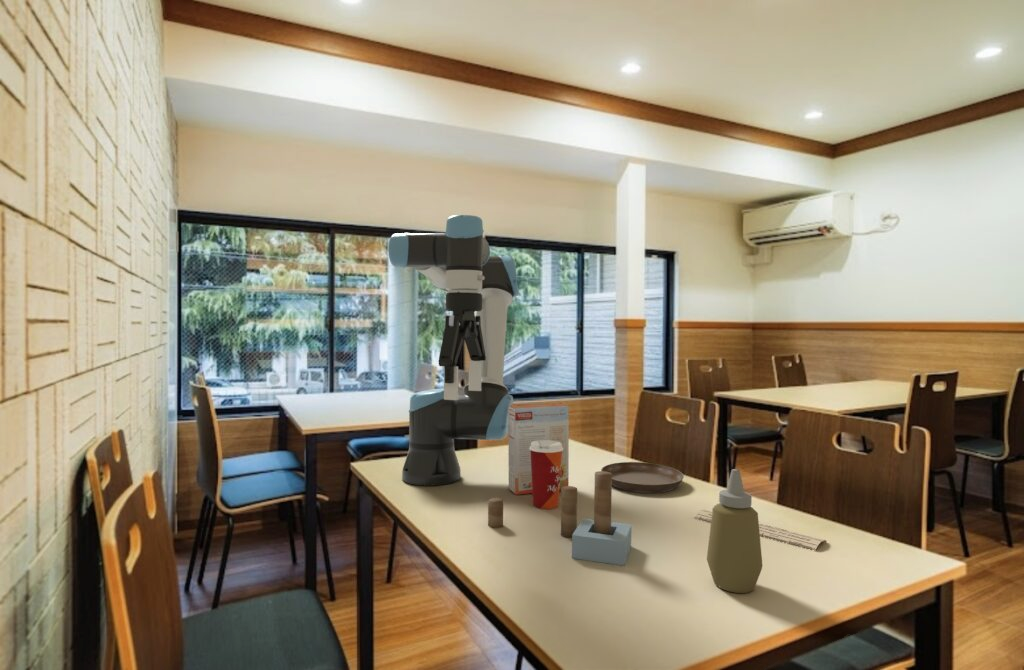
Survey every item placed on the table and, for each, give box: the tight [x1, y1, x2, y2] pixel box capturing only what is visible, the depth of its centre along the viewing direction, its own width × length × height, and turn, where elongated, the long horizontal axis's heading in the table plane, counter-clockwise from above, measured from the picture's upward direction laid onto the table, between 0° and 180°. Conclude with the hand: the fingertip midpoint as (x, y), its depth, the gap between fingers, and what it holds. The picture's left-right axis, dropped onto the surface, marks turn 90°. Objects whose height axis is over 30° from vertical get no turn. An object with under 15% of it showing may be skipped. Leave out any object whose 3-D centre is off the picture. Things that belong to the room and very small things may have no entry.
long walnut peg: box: [593, 470, 613, 535], centre depth 100 cm, size 3×3×14 cm
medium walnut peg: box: [560, 485, 578, 539], centre depth 108 cm, size 3×3×9 cm
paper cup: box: [529, 440, 563, 510], centre depth 126 cm, size 8×8×14 cm
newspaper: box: [693, 509, 828, 552], centre depth 113 cm, size 24×7×2 cm, turn 44°
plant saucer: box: [600, 461, 685, 494], centre depth 145 cm, size 21×21×3 cm
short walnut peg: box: [487, 497, 504, 529], centre depth 113 cm, size 3×3×5 cm
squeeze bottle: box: [706, 468, 763, 594], centre depth 88 cm, size 8×8×18 cm
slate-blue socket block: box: [571, 518, 632, 567], centre depth 100 cm, size 9×9×4 cm
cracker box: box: [507, 402, 570, 496], centre depth 138 cm, size 14×6×21 cm, turn 108°
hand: (463, 395), depth 117 cm, fingers open, 13 cm apart
